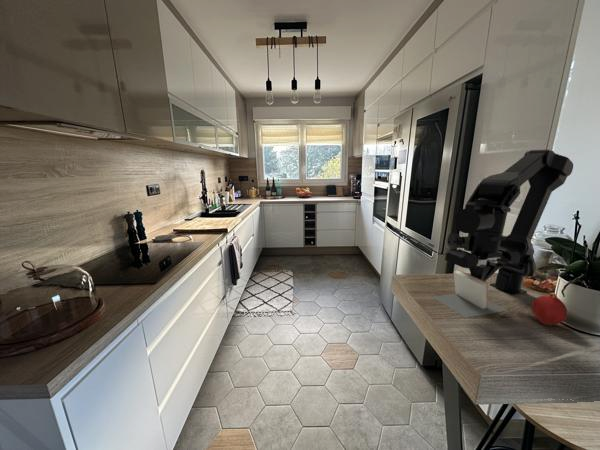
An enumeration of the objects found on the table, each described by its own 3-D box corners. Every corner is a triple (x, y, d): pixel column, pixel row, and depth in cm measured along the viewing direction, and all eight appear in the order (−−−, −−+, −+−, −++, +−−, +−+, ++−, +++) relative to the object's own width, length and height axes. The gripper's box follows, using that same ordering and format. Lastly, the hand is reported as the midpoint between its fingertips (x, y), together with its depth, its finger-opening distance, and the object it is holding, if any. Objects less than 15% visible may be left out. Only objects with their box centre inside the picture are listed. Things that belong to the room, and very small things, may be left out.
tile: (459, 291, 71) (458, 269, 69) (487, 306, 63) (487, 282, 61) (455, 293, 70) (454, 271, 68) (482, 309, 63) (482, 285, 61)
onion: (529, 314, 62) (537, 284, 60) (562, 325, 58) (571, 293, 56) (526, 323, 58) (535, 292, 56) (562, 336, 54) (572, 302, 52)
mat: (470, 292, 72) (471, 291, 72) (507, 311, 63) (508, 310, 63) (431, 298, 68) (431, 296, 68) (464, 319, 59) (464, 318, 59)
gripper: (485, 222, 73) (474, 272, 76) (433, 223, 68) (424, 277, 71) (528, 231, 63) (513, 289, 66) (471, 234, 57) (458, 296, 61)
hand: (476, 287), depth 66 cm, fingers closed
